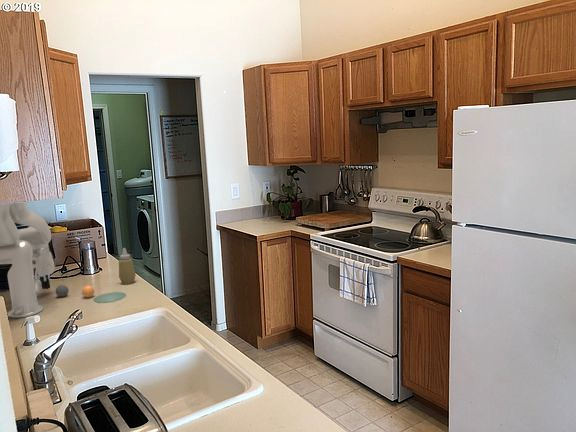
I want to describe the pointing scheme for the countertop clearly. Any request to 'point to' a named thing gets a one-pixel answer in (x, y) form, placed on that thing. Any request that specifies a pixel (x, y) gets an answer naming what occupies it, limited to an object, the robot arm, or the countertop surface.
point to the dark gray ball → (62, 290)
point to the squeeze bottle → (126, 268)
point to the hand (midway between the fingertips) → (46, 288)
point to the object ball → (88, 291)
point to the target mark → (109, 297)
